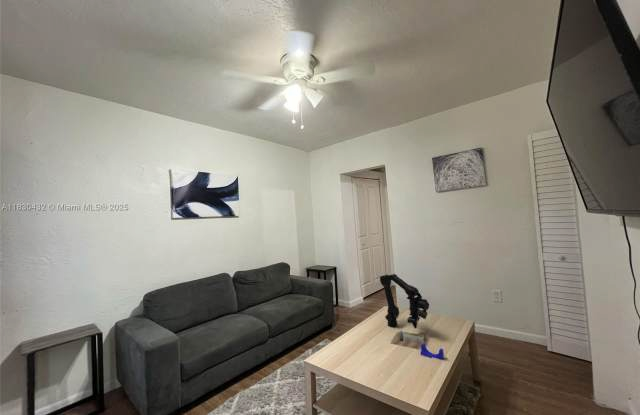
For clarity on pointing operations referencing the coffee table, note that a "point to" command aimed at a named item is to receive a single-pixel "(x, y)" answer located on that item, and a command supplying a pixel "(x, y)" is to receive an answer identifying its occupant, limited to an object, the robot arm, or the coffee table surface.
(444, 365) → the coffee table surface
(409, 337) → the steel leaf
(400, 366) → the coffee table surface
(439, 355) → the cable clip
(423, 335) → the block
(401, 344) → the hinge board
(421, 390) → the coffee table surface
